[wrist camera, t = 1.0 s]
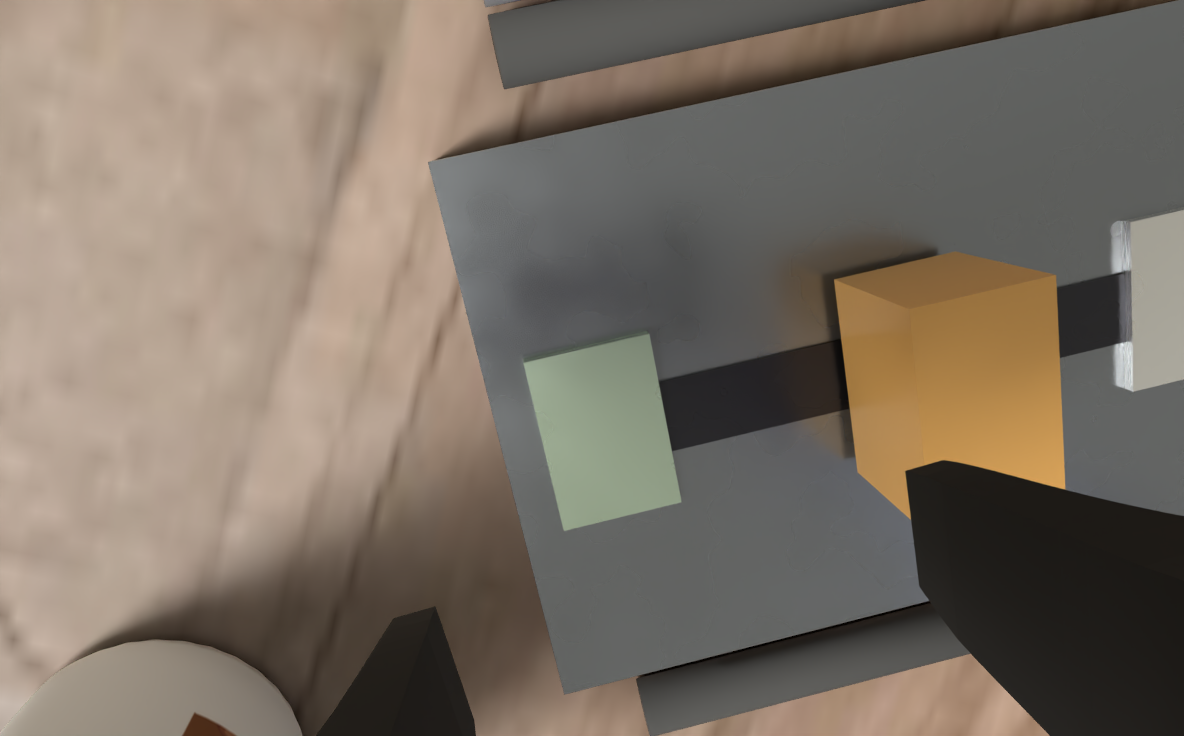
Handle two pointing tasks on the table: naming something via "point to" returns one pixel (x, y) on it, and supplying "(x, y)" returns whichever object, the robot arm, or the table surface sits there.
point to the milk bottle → (156, 696)
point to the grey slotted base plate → (643, 31)
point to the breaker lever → (952, 369)
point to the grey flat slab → (805, 321)
